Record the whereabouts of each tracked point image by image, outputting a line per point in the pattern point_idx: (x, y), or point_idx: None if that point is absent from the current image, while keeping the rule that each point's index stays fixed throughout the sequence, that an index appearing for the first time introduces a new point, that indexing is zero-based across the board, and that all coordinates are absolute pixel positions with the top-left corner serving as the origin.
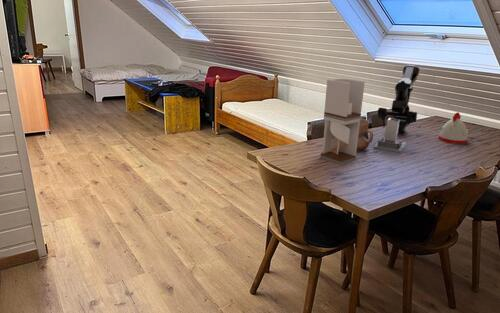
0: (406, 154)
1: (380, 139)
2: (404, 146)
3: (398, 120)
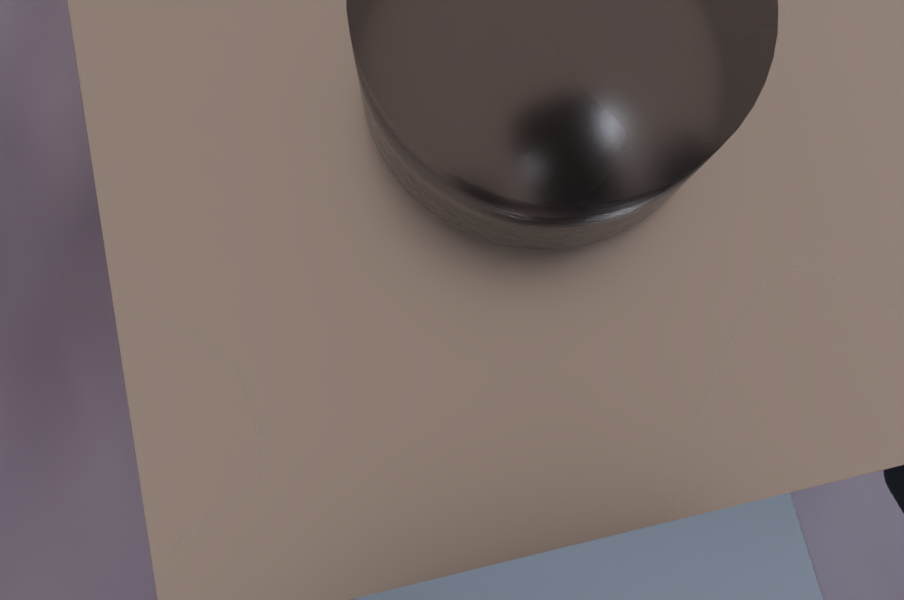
0: (18, 131)
1: None
2: None
3: (103, 94)
